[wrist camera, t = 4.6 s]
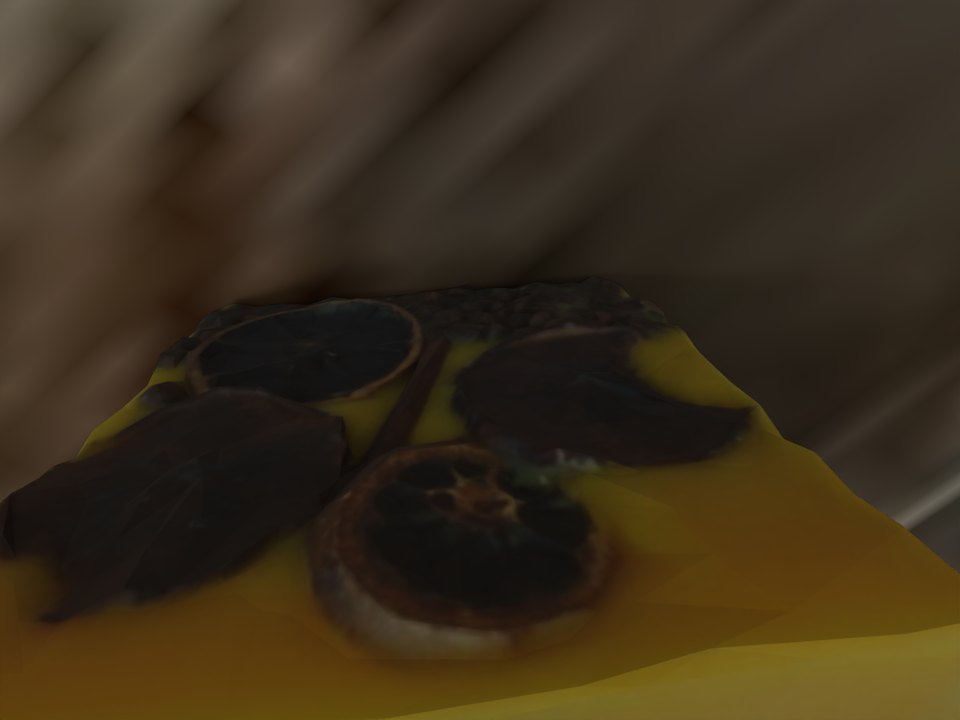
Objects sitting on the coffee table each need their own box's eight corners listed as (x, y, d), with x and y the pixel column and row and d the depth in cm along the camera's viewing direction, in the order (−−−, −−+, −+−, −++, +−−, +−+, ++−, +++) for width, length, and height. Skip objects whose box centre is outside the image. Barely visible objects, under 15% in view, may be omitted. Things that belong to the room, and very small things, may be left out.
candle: (606, 568, 17) (808, 1063, 8) (293, 608, 17) (143, 1196, 8) (625, 264, 13) (1099, 616, 4) (200, 301, 12) (-415, 834, 3)
